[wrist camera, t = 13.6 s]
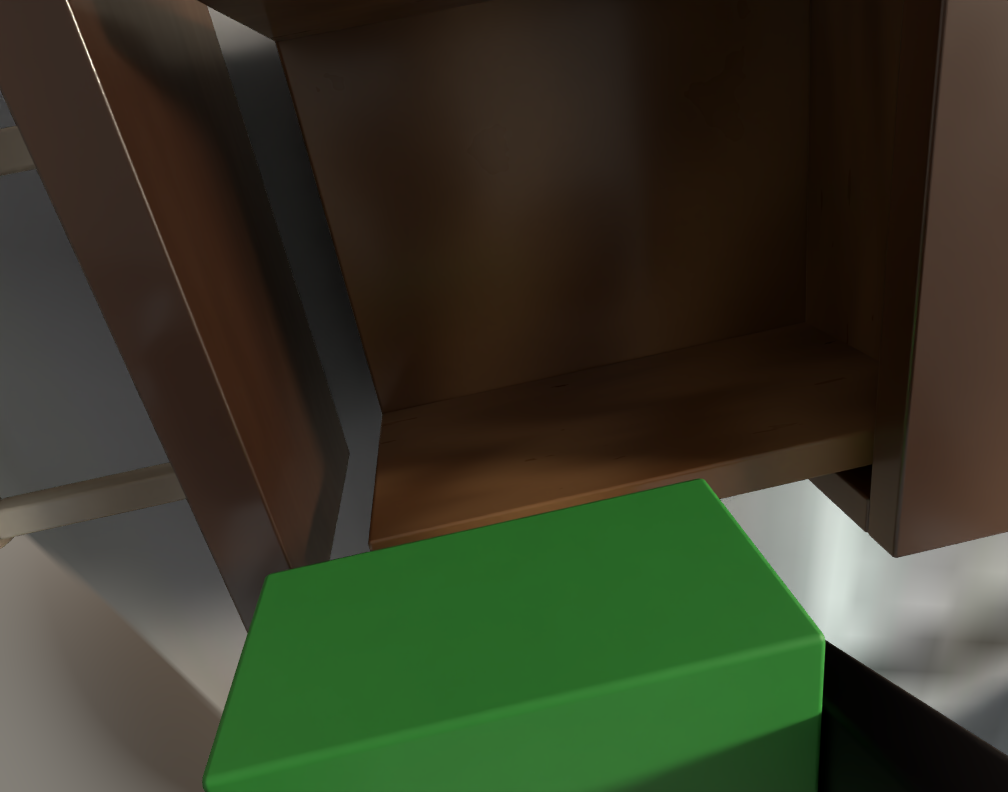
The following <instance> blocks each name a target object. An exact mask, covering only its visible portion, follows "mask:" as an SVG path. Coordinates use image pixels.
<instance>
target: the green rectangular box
mask: <svg viewBox="0 0 1008 792" xmlns="http://www.w3.org/2000/svg"><path fill="white" fill-rule="evenodd" d="M824 660H825V638H824V635H823V633H822V632H821V631H820V629H819V628H818V627H817V625H816V624H815V623H814V621H813V620H812V619H811V618H810V616H809V615H808V614H807V612H806V611H805V610H804V608H803V607H802V606H801V605H800V603H799V602H798V601H797V599H796V598H795V597H794V595H793V594H792V593H791V592H790V590H789V589H788V588H787V586H786V585H785V584H784V582H783V581H782V580H781V579H780V577H779V576H778V575H777V573H776V572H775V571H774V569H773V568H772V567H771V566H770V564H769V563H768V562H767V560H766V559H765V558H764V556H763V555H762V554H761V553H760V551H759V550H758V549H757V547H756V546H755V545H754V543H753V542H752V541H751V539H750V538H749V537H748V536H747V534H746V533H745V532H744V530H743V529H742V528H741V526H740V525H739V524H738V523H737V521H736V520H735V519H734V517H733V516H732V515H731V513H730V512H729V511H728V510H727V508H726V507H725V506H724V504H723V503H722V502H721V500H720V499H719V498H718V497H717V495H716V494H715V493H714V491H713V490H712V489H711V487H710V486H709V485H708V484H707V482H706V481H705V480H704V479H700V478H698V479H693V480H689V481H684V482H680V483H675V484H671V485H666V486H662V487H657V488H653V489H648V490H644V491H639V492H635V493H630V494H626V495H621V496H617V497H612V498H608V499H603V500H599V501H594V502H590V503H585V504H581V505H576V506H572V507H567V508H563V509H559V510H554V511H550V512H545V513H541V514H536V515H532V516H527V517H523V518H518V519H514V520H509V521H505V522H500V523H496V524H491V525H487V526H482V527H478V528H473V529H469V530H464V531H460V532H455V533H451V534H446V535H442V536H437V537H433V538H428V539H424V540H419V541H415V542H410V543H406V544H401V545H397V546H392V547H388V548H383V549H379V550H374V551H370V552H365V553H361V554H356V555H352V556H347V557H343V558H338V559H334V560H329V561H325V562H320V563H316V564H311V565H307V566H302V567H298V568H293V569H289V570H284V571H280V572H275V573H271V574H269V575H267V576H266V577H265V580H264V583H263V586H262V589H261V592H260V596H259V599H258V602H257V605H256V608H255V612H254V615H253V618H252V621H251V624H250V628H249V631H248V634H247V637H246V640H245V644H244V647H243V650H242V653H241V656H240V660H239V663H238V666H237V669H236V672H235V676H234V679H233V682H232V685H231V688H230V691H229V695H228V698H227V701H226V704H225V707H224V711H223V714H222V717H221V720H220V723H219V727H218V730H217V733H216V737H215V739H214V743H213V746H212V749H211V752H210V755H209V759H208V762H207V765H206V768H205V771H204V775H203V780H202V783H203V789H204V791H205V792H818V776H819V757H820V738H821V718H822V699H823V679H824Z"/></svg>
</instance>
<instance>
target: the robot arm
mask: <svg viewBox="0 0 1008 792" xmlns="http://www.w3.org/2000/svg"><path fill="white" fill-rule="evenodd" d="M818 792H1008V756H1007V755H1006V754H1004V753H1003V752H1001V751H999V750H998V749H996V748H995V747H993V746H992V745H990V744H988V743H987V742H985V741H984V740H982V739H980V738H979V737H977V736H976V735H974V734H973V733H971V732H969V731H968V730H966V729H965V728H963V727H962V726H960V725H958V724H957V723H955V722H954V721H952V720H951V719H949V718H947V717H946V716H944V715H943V714H941V713H940V712H938V711H936V710H935V709H933V708H932V707H930V706H928V705H927V704H925V703H924V702H922V701H921V700H919V699H917V698H916V697H914V696H913V695H911V694H910V693H908V692H906V691H905V690H903V689H902V688H900V687H899V686H897V685H895V684H894V683H892V682H891V681H889V680H888V679H886V678H884V677H883V676H881V675H880V674H878V673H876V672H875V671H873V670H872V669H870V668H869V667H867V666H865V665H864V664H862V663H861V662H859V661H858V660H856V659H854V658H853V657H851V656H850V655H848V654H847V653H845V652H843V651H842V650H840V649H839V648H837V647H836V646H834V645H832V644H831V643H829V642H828V641H826V640H825V660H824V679H823V699H822V718H821V738H820V757H819V776H818Z"/></svg>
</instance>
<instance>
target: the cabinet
mask: <svg viewBox="0 0 1008 792" xmlns="http://www.w3.org/2000/svg"><path fill="white" fill-rule="evenodd" d="M809 480H810V481H811V482H812V483H813V484H814V485H815V486H816V487H817V488H818V489H819V490H820V491H822V492H823V493H824V494H825V495H826V496H827V497H828V498H829V499H830V500H831V501H832V502H833V503H835V504H836V505H837V506H838V507H839V508H840V509H841V510H842V511H843V512H844V513H845V514H846V515H847V516H849V517H850V518H851V519H852V520H853V521H854V522H855V523H856V524H857V525H858V526H859V527H860V528H861V529H863V530H864V531H865V532H868V533H869V535H870V536H871V537H872V538H873V539H874V540H875V541H876V542H877V543H878V544H879V545H880V546H882V547H883V548H884V549H885V550H886V551H887V552H888V553H889V554H890V555H891V556H892V557H894V558H898V557H902V556H907V555H911V554H915V553H920V552H924V551H928V550H932V549H937V548H941V547H945V546H949V545H954V544H958V543H962V542H966V541H971V540H975V539H979V538H984V537H988V536H992V535H996V534H1001V533H1005V532H1008V0H903V10H902V25H901V40H900V55H899V70H898V86H897V101H896V116H895V131H894V146H893V161H892V176H891V191H890V206H889V221H888V236H887V251H886V266H885V281H884V296H883V312H882V327H881V342H880V357H879V372H878V387H877V402H876V417H875V432H874V447H873V462H872V464H871V465H867V466H863V467H858V468H854V469H849V470H845V471H841V472H836V473H832V474H827V475H823V476H819V477H814V478H810V479H809Z"/></svg>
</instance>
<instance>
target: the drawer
mask: <svg viewBox="0 0 1008 792" xmlns="http://www.w3.org/2000/svg"><path fill="white" fill-rule="evenodd" d="M207 6H209V7H211V8H213V9H214V10H216V11H218V12H220V13H222V14H224V15H226V16H228V17H230V18H232V19H234V20H235V21H237V22H239V23H241V24H243V25H245V26H247V27H249V28H251V29H253V30H255V31H257V32H258V33H260V34H262V35H264V36H266V37H268V38H270V39H272V40H274V41H275V43H276V47H277V50H278V54H279V57H280V61H281V64H282V67H283V71H284V74H285V78H286V81H287V85H288V88H289V92H290V95H291V99H292V102H293V106H294V109H295V113H296V116H297V120H298V123H299V127H300V130H301V134H302V137H303V141H304V144H305V148H306V151H307V154H308V158H309V161H310V165H311V168H312V172H313V175H314V179H315V182H316V186H317V189H318V193H319V196H320V200H321V203H322V207H323V210H324V214H325V217H326V221H327V224H328V228H329V231H330V235H331V238H332V241H333V245H334V248H335V252H336V255H337V259H338V262H339V266H340V269H341V273H342V276H343V280H344V283H345V287H346V290H347V294H348V297H349V301H350V304H351V308H352V311H353V315H354V318H355V322H356V325H357V328H358V332H359V335H360V339H361V342H362V346H363V349H364V353H365V356H366V360H367V363H368V367H369V370H370V374H371V377H372V381H373V384H374V388H375V391H376V395H377V398H378V402H379V405H380V409H381V412H382V420H381V429H380V438H379V448H378V457H377V466H376V475H375V485H374V494H373V503H372V512H371V522H370V531H369V540H368V545H369V548H370V551H374V550H379V549H383V548H388V547H392V546H397V545H401V544H406V543H410V542H415V541H419V540H424V539H428V538H433V537H437V536H442V535H446V534H451V533H455V532H460V531H464V530H469V529H473V528H478V527H482V526H487V525H491V524H496V523H500V522H505V521H509V520H514V519H518V518H523V517H527V516H532V515H536V514H541V513H545V512H550V511H554V510H559V509H563V508H567V507H572V506H576V505H581V504H585V503H590V502H594V501H599V500H603V499H608V498H612V497H617V496H621V495H626V494H630V493H635V492H639V491H644V490H648V489H653V488H657V487H662V486H666V485H671V484H675V483H680V482H684V481H689V480H693V479H698V478H700V479H704V480H705V481H706V482H707V484H708V485H709V486H710V487H711V489H712V490H713V491H714V493H715V494H716V495H717V497H718V498H719V499H722V498H726V497H731V496H735V495H740V494H744V493H748V492H753V491H757V490H761V489H766V488H770V487H775V486H779V485H783V484H788V483H792V482H797V481H801V480H805V479H810V478H814V477H819V476H823V475H827V474H832V473H836V472H841V471H845V470H849V469H854V468H858V467H863V466H867V465H871V464H872V462H873V447H874V432H875V417H876V402H877V387H878V372H879V357H880V342H881V327H882V312H883V296H884V281H885V266H886V251H887V236H888V221H889V206H890V191H891V176H892V161H893V146H894V131H895V116H896V101H897V86H898V70H899V55H900V40H901V25H902V10H903V0H0V90H1V92H2V95H3V97H4V99H5V101H6V103H7V106H8V108H9V110H10V112H11V114H12V117H13V119H14V121H15V123H16V125H17V126H13V127H8V128H3V129H0V176H3V175H8V174H13V173H18V172H23V171H28V170H34V169H37V172H38V174H39V176H40V178H41V180H42V183H43V185H44V187H45V189H46V191H47V194H48V196H49V198H50V200H51V202H52V204H53V207H54V209H55V211H56V213H57V215H58V218H59V220H60V222H61V224H62V226H63V229H64V231H65V233H66V235H67V237H68V240H69V242H70V244H71V246H72V248H73V251H74V253H75V255H76V257H77V259H78V262H79V264H80V266H81V268H82V270H83V273H84V275H85V277H86V279H87V281H88V284H89V286H90V288H91V290H92V292H93V295H94V297H95V299H96V301H97V303H98V306H99V308H100V310H101V312H102V314H103V317H104V319H105V321H106V323H107V325H108V328H109V330H110V332H111V334H112V336H113V338H114V341H115V343H116V345H117V347H118V349H119V352H120V354H121V356H122V358H123V360H124V363H125V365H126V367H127V369H128V371H129V374H130V376H131V378H132V380H133V382H134V385H135V387H136V389H137V391H138V393H139V396H140V398H141V400H142V402H143V404H144V407H145V409H146V411H147V413H148V415H149V418H150V420H151V422H152V424H153V426H154V429H155V431H156V433H157V435H158V437H159V440H160V442H161V444H162V446H163V448H164V451H165V453H166V455H167V457H168V459H169V463H164V464H159V465H155V466H150V467H146V468H141V469H136V470H132V471H127V472H122V473H118V474H113V475H109V476H104V477H99V478H95V479H90V480H86V481H81V482H76V483H72V484H67V485H63V486H58V487H53V488H49V489H44V490H40V491H35V492H30V493H26V494H21V495H16V496H12V497H7V498H4V499H2V498H1V497H0V549H1V548H2V547H4V546H5V545H6V544H7V543H9V542H10V541H11V540H12V539H13V538H14V537H15V536H20V535H24V534H29V533H33V532H38V531H42V530H47V529H51V528H56V527H61V526H65V525H70V524H74V523H79V522H83V521H88V520H92V519H97V518H102V517H106V516H111V515H115V514H120V513H124V512H129V511H133V510H138V509H143V508H147V507H152V506H156V505H161V504H165V503H170V502H174V501H179V500H183V499H187V501H188V503H189V505H190V508H191V510H192V512H193V514H194V516H195V519H196V521H197V523H198V525H199V527H200V530H201V532H202V534H203V536H204V538H205V541H206V543H207V545H208V547H209V549H210V552H211V554H212V556H213V558H214V560H215V563H216V565H217V567H218V569H219V571H220V574H221V576H222V578H223V580H224V582H225V585H226V587H227V589H228V591H229V593H230V596H231V598H232V600H233V602H234V604H235V607H236V609H237V611H238V613H239V615H240V617H241V620H242V622H243V624H244V626H245V628H246V631H247V633H248V631H249V628H250V624H251V621H252V618H253V615H254V612H255V608H256V605H257V602H258V599H259V596H260V592H261V589H262V586H263V583H264V580H265V577H266V576H267V575H269V574H271V573H275V572H280V571H284V570H289V569H293V568H298V567H302V566H307V565H311V564H316V563H320V562H325V561H329V560H330V555H331V550H332V545H333V540H334V534H335V529H336V524H337V519H338V513H339V508H340V503H341V497H342V492H343V487H344V482H345V476H346V471H347V466H348V461H349V455H350V452H349V449H348V446H347V443H346V440H345V437H344V433H343V430H342V427H341V424H340V421H339V418H338V415H337V411H336V408H335V405H334V402H333V399H332V396H331V393H330V390H329V386H328V383H327V380H326V377H325V374H324V371H323V368H322V365H321V361H320V358H319V355H318V352H317V349H316V346H315V343H314V339H313V336H312V333H311V330H310V327H309V324H308V321H307V318H306V314H305V311H304V308H303V305H302V302H301V299H300V296H299V293H298V289H297V286H296V283H295V280H294V277H293V274H292V271H291V267H290V264H289V261H288V258H287V255H286V252H285V249H284V246H283V242H282V239H281V236H280V233H279V230H278V227H277V224H276V221H275V217H274V214H273V211H272V208H271V205H270V202H269V199H268V195H267V192H266V189H265V186H264V183H263V180H262V177H261V174H260V170H259V167H258V164H257V161H256V158H255V155H254V152H253V149H252V145H251V142H250V139H249V136H248V133H247V130H246V127H245V123H244V120H243V117H242V114H241V111H240V108H239V105H238V102H237V98H236V95H235V92H234V89H233V86H232V83H231V80H230V76H229V73H228V70H227V67H226V64H225V61H224V58H223V55H222V51H221V48H220V45H219V42H218V39H217V36H216V33H215V30H214V26H213V23H212V20H211V17H210V14H209V11H208V8H207Z"/></svg>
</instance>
